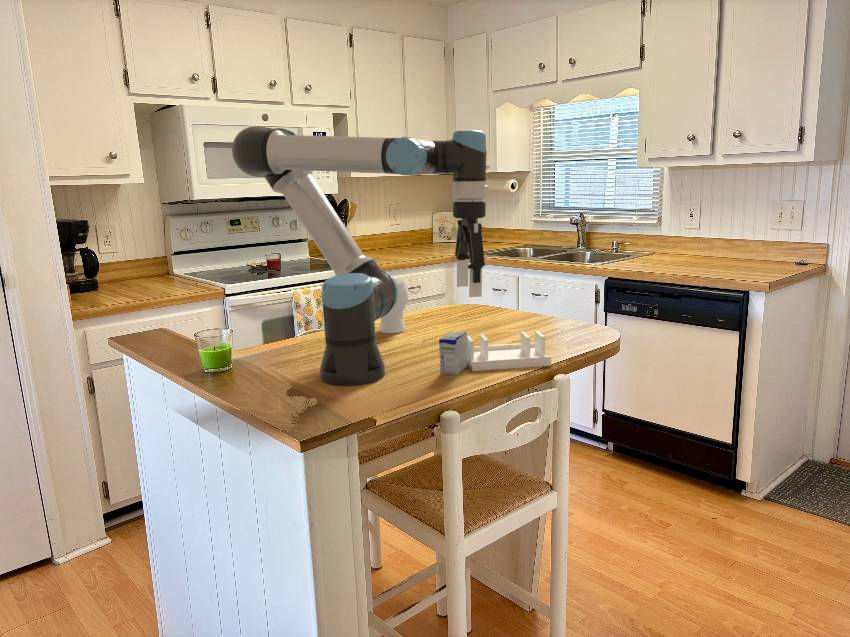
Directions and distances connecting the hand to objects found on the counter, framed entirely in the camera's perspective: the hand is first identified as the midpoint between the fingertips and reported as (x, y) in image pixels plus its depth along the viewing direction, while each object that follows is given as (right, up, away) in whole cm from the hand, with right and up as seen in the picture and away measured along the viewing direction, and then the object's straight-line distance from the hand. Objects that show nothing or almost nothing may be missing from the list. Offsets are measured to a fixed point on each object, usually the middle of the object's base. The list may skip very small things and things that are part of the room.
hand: (468, 291), depth 151 cm
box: (-3, -19, 0) cm, 19 cm away
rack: (+9, -17, +6) cm, 20 cm away
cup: (-20, -10, +42) cm, 48 cm away
